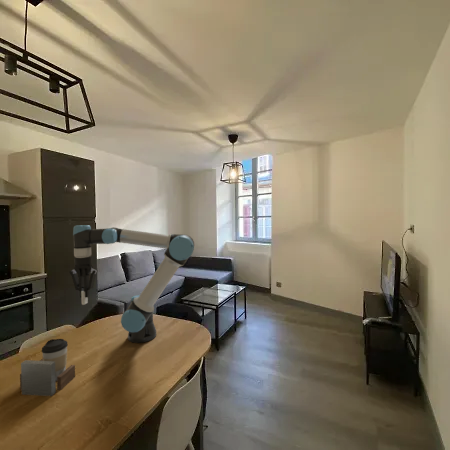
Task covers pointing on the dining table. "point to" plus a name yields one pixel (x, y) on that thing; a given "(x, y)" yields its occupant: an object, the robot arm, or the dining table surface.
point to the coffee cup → (56, 354)
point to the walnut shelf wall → (61, 377)
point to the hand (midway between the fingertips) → (84, 303)
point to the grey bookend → (38, 378)
